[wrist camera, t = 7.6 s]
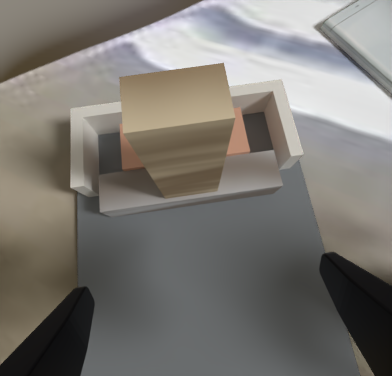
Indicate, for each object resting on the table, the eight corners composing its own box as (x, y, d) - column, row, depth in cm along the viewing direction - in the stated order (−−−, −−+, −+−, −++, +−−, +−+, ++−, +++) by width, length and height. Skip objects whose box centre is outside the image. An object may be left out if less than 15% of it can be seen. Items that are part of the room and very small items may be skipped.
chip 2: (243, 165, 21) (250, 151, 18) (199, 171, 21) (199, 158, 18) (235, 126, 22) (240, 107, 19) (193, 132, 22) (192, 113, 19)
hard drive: (475, 60, 23) (381, -15, 26) (417, 102, 22) (325, 19, 25) (458, 73, 25) (370, 0, 28) (402, 112, 24) (317, 33, 26)
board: (356, 372, 17) (360, 376, 17) (81, 416, 17) (78, 421, 16) (277, 94, 24) (279, 91, 23) (79, 122, 23) (77, 119, 23)
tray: (289, 168, 21) (303, 154, 18) (88, 197, 21) (70, 187, 18) (271, 101, 23) (281, 79, 20) (87, 127, 23) (70, 108, 20)
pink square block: (177, 174, 21) (173, 162, 18) (133, 181, 21) (122, 169, 18) (172, 135, 22) (168, 117, 19) (130, 141, 22) (119, 124, 19)
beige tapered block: (273, 193, 20) (376, 105, 8) (111, 217, 20) (-22, 161, 8) (265, 161, 21) (349, 39, 9) (110, 184, 21) (-13, 88, 9)
